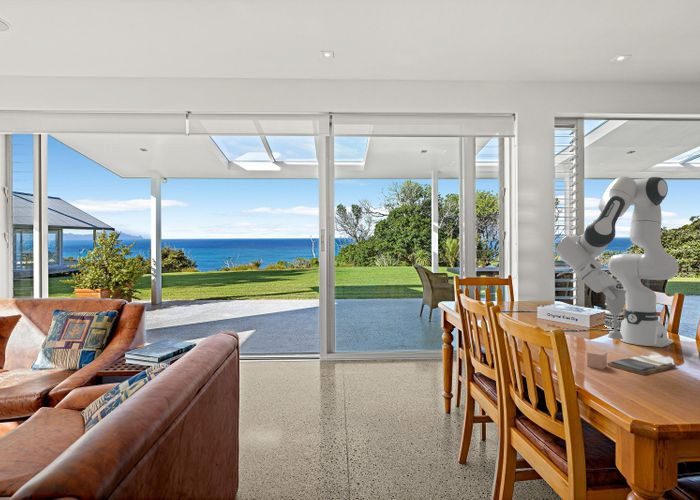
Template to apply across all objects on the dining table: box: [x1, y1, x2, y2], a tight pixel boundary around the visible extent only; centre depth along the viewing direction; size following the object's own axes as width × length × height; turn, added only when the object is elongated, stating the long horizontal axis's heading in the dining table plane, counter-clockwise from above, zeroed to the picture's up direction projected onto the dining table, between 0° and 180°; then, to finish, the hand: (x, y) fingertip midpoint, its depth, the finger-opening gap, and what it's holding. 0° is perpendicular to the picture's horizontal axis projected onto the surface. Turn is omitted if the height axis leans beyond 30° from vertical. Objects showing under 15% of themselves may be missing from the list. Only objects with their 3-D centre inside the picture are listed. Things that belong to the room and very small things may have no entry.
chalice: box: [605, 289, 627, 340], centre depth 161 cm, size 7×7×18 cm
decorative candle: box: [603, 278, 625, 330], centre depth 218 cm, size 9×9×25 cm
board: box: [607, 355, 676, 376], centre depth 152 cm, size 20×12×2 cm, turn 117°
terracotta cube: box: [586, 349, 608, 370], centre depth 151 cm, size 5×5×5 cm
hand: (617, 297), depth 160 cm, fingers closed on chalice, 6 cm apart
